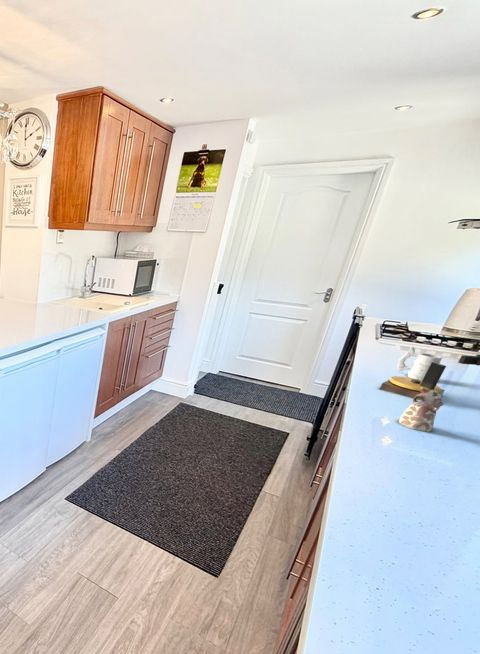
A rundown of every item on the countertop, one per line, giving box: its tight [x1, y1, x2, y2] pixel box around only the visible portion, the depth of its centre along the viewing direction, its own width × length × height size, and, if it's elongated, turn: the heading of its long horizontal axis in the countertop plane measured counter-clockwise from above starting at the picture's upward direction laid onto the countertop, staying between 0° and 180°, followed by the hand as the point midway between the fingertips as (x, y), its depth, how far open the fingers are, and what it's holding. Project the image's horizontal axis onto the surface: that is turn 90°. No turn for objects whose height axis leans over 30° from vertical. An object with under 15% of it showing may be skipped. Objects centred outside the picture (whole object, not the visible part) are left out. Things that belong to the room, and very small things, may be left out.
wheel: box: [389, 362, 447, 392], centre depth 147 cm, size 13×13×10 cm
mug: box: [396, 346, 443, 380], centre depth 165 cm, size 8×12×12 cm, turn 39°
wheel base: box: [379, 379, 446, 401], centre depth 150 cm, size 14×14×2 cm
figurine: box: [398, 388, 444, 433], centre depth 121 cm, size 7×7×12 cm
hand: (462, 359), depth 141 cm, fingers closed
